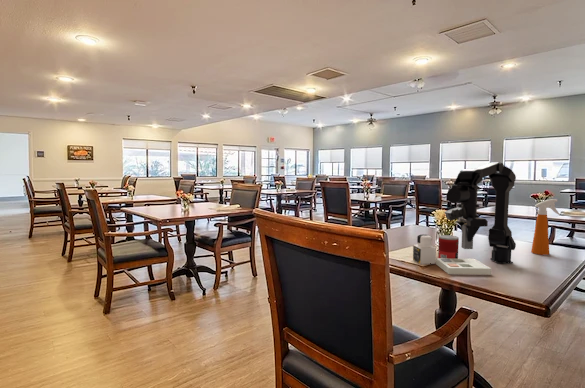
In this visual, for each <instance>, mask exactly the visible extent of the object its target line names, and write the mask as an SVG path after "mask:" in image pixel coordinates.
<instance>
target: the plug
mask: <svg viewBox="0 0 585 388" xmlns="http://www.w3.org/2000/svg"><path fill="white" fill-rule="evenodd" d="M464 224H467V223H464ZM473 246H474V238H473V239H472V241H471V242H468V240H467V231H466V228H465V226H464V225H462V231H461V247H460V248H462V249H464V250H473V249H474V247H473Z"/></svg>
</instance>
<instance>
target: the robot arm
mask: <svg viewBox="0 0 585 388" xmlns="http://www.w3.org/2000/svg"><path fill="white" fill-rule="evenodd" d="M486 177H488V178H489V179H490V181H491V186H492V188H493V190H494V191H495V202H494V203H495V205H494V206H495V207H494V224H493V226H491V228H489V230H488V236H487V238H488V245H489V247H492V250H491V258H490V260H491V261H493V262H495V263H497V264H513V263H514V261H512V251H515V249H516V246H517V244H516V241H515V240H514V238H513V237H512V230H511V229H510V227H509V225H508V223H509V222H508V221H509V205H510V204H509V203H510V201H509V199H510V192H511V190H512V189H513V188H514V186H515V183H516V179H517V178H516V177H517V175H516V174H515V172H514V171H513V169H511V168H509V167H507V166H505V165H504V163H503V162H500V161H499V162H498V161H493V162H488V163H487V164H484V165H482V166H481V165H480V166H479V167H475V168H467V169H465V168H464V169H461V170H459V173H458V174H457V176H456V178H455V181H454V183H453V184H451V188H450V189H448V191H447V193H446V198H447V200H448V202H450V203H452V204H457V207H454V208H450V209H448V210H445V211H444V214H445V218H446V220H449V221H454V220H455V223H456V224H457V225H459V227H460V230H461V232H462V225H464V226H465V228H466V231H467V240H468V242H471V241H472V239H473V240H474V238H475V235H476V233H477V232H478V231H479V230H480V228H481V227H488V224H489V223H488V222H489V221H488V219H486V218H484V217H480V216H479V214H477V212H478V211H477V210H478V208H480V204H478V191H479V190H481V187H480V186H479V184H480V183H482V182H483V180H484V178H486ZM456 220H457V221H456ZM464 223H467V224H464Z"/></svg>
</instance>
